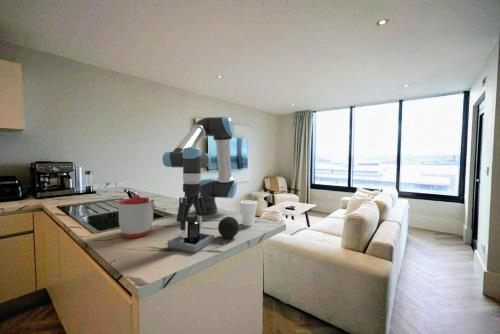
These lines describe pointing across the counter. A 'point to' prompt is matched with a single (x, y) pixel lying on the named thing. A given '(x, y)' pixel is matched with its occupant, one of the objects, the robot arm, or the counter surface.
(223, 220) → the speaker
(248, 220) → the foam cup
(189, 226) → the supplement bottle
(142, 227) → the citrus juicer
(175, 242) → the tray
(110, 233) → the counter surface
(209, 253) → the counter surface
